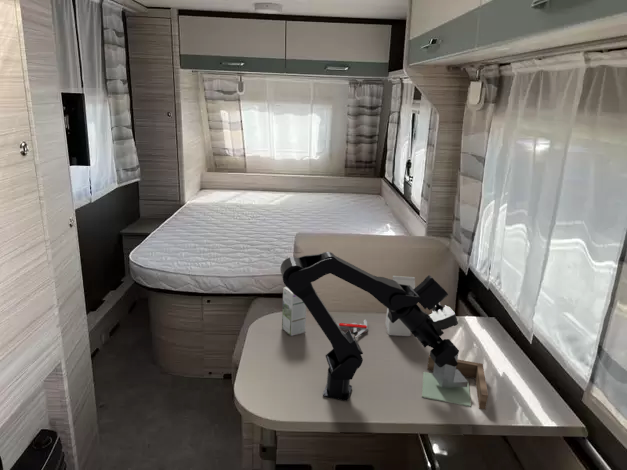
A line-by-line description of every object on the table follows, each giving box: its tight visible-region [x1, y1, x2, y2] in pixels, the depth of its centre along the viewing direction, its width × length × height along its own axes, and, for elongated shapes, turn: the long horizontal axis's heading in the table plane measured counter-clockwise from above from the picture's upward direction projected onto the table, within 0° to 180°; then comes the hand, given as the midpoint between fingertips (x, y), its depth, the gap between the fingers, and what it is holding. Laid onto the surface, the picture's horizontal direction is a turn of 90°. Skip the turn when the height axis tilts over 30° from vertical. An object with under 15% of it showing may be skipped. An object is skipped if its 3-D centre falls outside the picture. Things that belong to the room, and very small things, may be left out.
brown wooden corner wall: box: [426, 354, 489, 410], centre depth 128 cm, size 16×14×4 cm
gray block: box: [432, 341, 469, 388], centre depth 126 cm, size 7×6×10 cm
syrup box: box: [281, 286, 307, 337], centre depth 152 cm, size 6×6×14 cm
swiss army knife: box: [337, 319, 368, 339], centre depth 156 cm, size 12×14×2 cm
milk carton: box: [384, 275, 416, 337], centre depth 155 cm, size 7×7×19 cm
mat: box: [421, 371, 472, 407], centre depth 127 cm, size 12×12×1 cm
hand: (451, 358), depth 125 cm, fingers closed on gray block, 6 cm apart
